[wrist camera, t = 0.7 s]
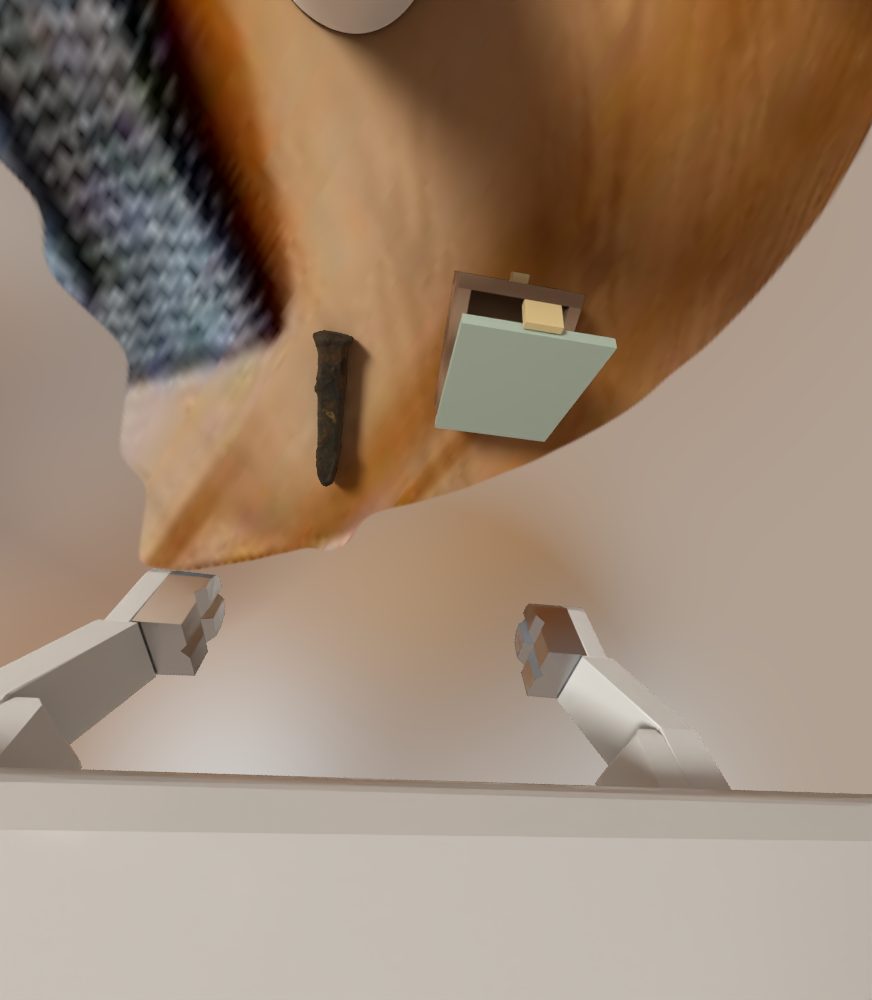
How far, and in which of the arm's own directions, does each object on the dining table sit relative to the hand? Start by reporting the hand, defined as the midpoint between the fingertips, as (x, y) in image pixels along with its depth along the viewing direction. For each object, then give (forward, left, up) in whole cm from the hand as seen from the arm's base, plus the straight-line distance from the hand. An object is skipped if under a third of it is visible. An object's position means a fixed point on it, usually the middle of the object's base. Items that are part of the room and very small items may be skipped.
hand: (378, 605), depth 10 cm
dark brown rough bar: (+9, -8, -40) cm, 41 cm away
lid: (-1, +10, -30) cm, 32 cm away
